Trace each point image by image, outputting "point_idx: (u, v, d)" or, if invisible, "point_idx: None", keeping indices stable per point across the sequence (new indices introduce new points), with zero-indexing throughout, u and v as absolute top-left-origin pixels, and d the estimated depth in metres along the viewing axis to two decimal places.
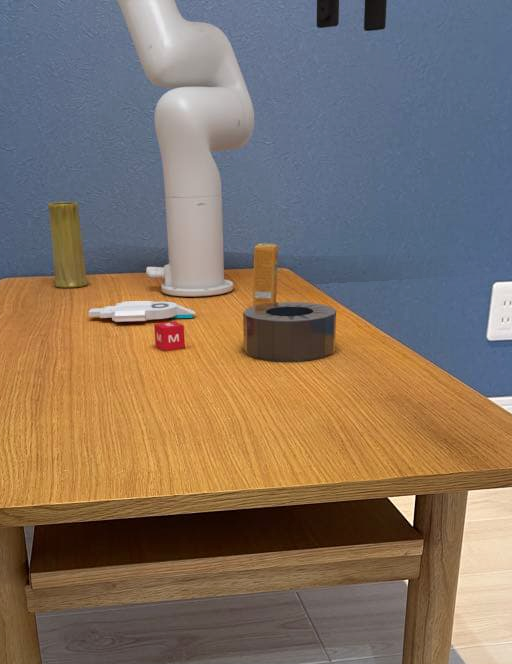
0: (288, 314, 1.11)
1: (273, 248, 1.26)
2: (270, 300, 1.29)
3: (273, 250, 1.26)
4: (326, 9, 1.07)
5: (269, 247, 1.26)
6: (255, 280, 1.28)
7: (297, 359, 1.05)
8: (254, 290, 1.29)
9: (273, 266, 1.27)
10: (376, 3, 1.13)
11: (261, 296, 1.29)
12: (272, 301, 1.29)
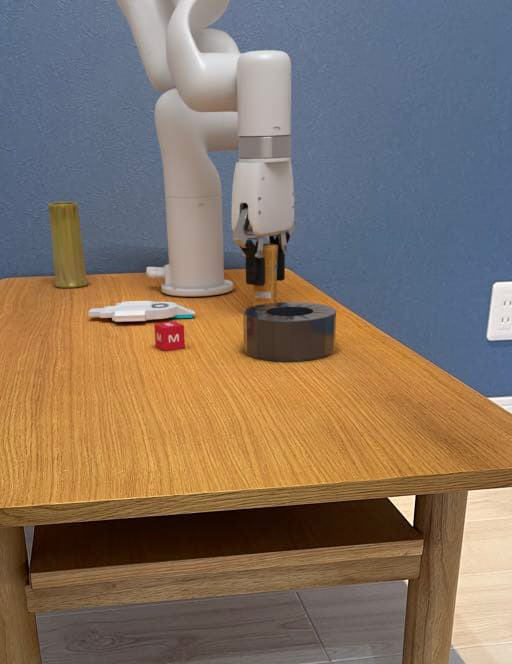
0: (288, 314, 1.11)
1: (273, 248, 1.26)
2: (270, 300, 1.29)
3: (273, 250, 1.26)
4: (254, 273, 1.26)
5: (269, 247, 1.26)
6: None
7: (297, 359, 1.05)
8: (254, 290, 1.29)
9: (273, 266, 1.27)
10: None
11: (261, 296, 1.29)
12: (272, 301, 1.29)
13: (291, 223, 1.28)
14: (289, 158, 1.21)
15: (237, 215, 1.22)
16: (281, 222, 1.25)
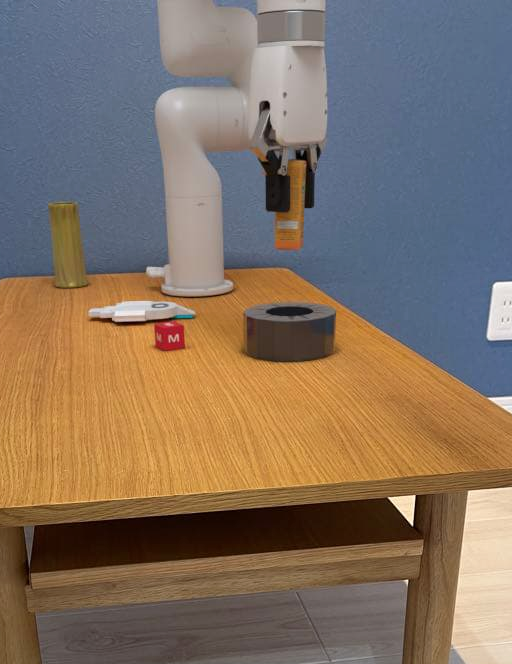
0: (288, 314, 1.11)
1: (301, 163, 0.99)
2: (296, 231, 1.02)
3: (301, 166, 0.99)
4: (277, 196, 0.99)
5: (296, 162, 0.99)
6: None
7: (297, 359, 1.05)
8: (276, 219, 1.02)
9: (301, 187, 1.00)
10: None
11: (285, 226, 1.02)
12: (299, 233, 1.02)
13: (323, 133, 1.01)
14: (323, 43, 0.94)
15: (256, 118, 0.95)
16: (311, 130, 0.98)
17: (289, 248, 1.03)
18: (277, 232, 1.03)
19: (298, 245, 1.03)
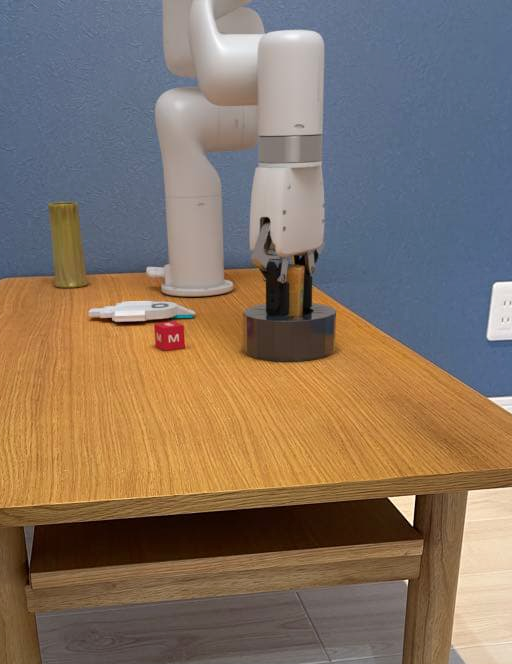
0: None
1: (299, 270, 1.04)
2: None
3: (300, 273, 1.05)
4: (277, 301, 1.05)
5: (294, 269, 1.04)
6: None
7: (297, 359, 1.05)
8: None
9: (299, 292, 1.06)
10: None
11: None
12: None
13: (321, 240, 1.06)
14: (320, 162, 0.99)
15: (257, 231, 1.01)
16: (309, 239, 1.04)
17: None
18: None
19: None
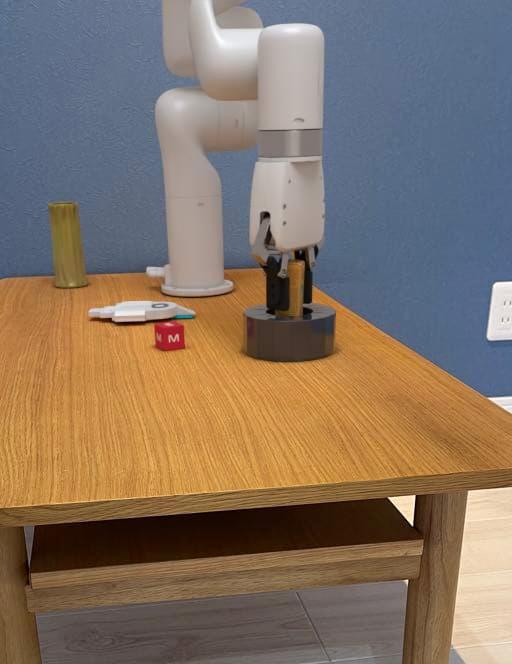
0: None
1: (300, 265, 1.04)
2: None
3: (300, 268, 1.04)
4: (277, 296, 1.04)
5: (295, 264, 1.04)
6: None
7: (297, 359, 1.05)
8: (276, 315, 1.07)
9: (299, 287, 1.05)
10: None
11: None
12: None
13: (321, 235, 1.06)
14: (320, 157, 0.99)
15: (257, 226, 1.01)
16: (309, 234, 1.04)
17: None
18: None
19: None
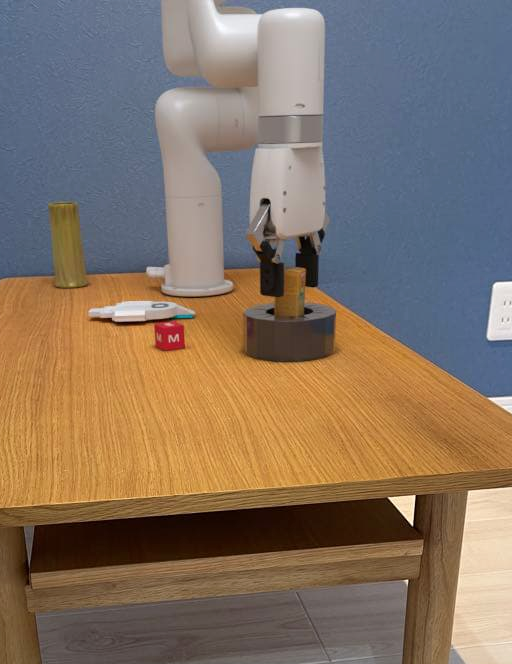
0: None
1: (298, 273, 1.05)
2: None
3: (298, 276, 1.05)
4: (271, 282, 1.03)
5: (293, 272, 1.05)
6: (276, 310, 1.07)
7: (297, 359, 1.05)
8: None
9: (298, 294, 1.06)
10: (308, 263, 1.08)
11: None
12: None
13: (321, 223, 1.05)
14: (321, 143, 0.98)
15: None
16: (310, 222, 1.03)
17: None
18: None
19: None
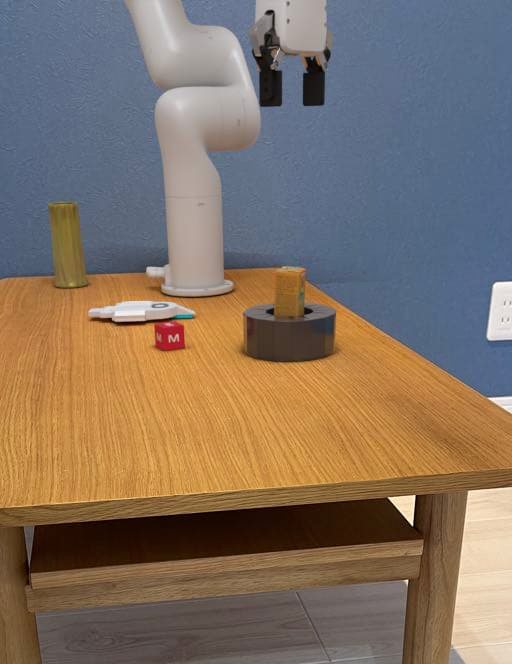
0: None
1: (298, 273, 1.05)
2: None
3: (298, 276, 1.05)
4: (270, 90, 1.07)
5: (293, 272, 1.05)
6: (276, 310, 1.07)
7: (297, 359, 1.05)
8: None
9: (298, 294, 1.06)
10: (315, 80, 1.14)
11: None
12: None
13: (323, 45, 1.11)
14: None
15: None
16: (312, 40, 1.08)
17: None
18: None
19: None
